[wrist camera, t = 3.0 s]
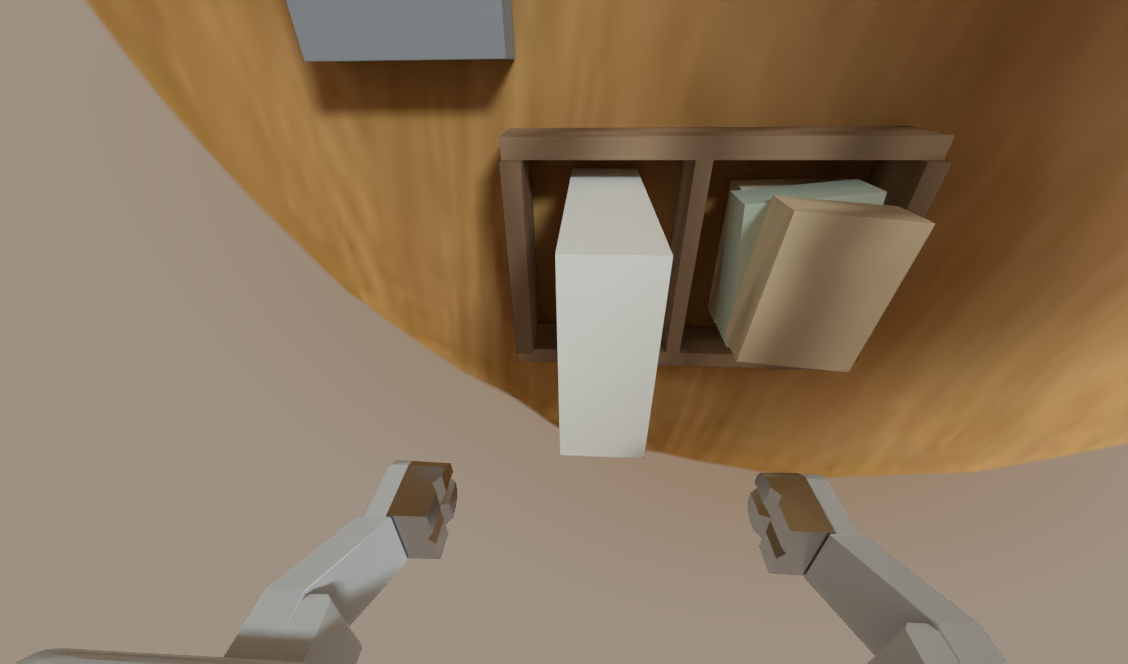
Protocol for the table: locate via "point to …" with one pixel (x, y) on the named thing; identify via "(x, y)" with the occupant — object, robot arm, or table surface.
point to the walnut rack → (696, 204)
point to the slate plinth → (403, 29)
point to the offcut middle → (748, 220)
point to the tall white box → (608, 312)
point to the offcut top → (821, 281)
